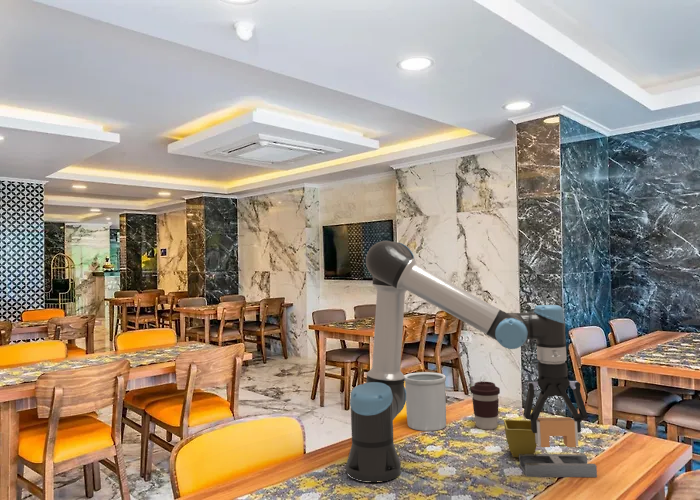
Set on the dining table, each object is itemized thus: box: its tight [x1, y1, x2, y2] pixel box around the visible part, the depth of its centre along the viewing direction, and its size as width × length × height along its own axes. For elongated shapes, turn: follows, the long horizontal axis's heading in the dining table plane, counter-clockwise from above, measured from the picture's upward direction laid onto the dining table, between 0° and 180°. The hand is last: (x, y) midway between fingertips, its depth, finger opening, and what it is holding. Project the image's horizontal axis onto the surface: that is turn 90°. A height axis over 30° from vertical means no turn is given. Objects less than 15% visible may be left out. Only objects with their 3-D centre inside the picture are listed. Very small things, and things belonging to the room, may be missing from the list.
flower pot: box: [503, 419, 538, 458], centre depth 147 cm, size 9×9×9 cm
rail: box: [518, 453, 598, 478], centre depth 135 cm, size 18×8×3 cm, turn 85°
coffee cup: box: [470, 380, 501, 430], centre depth 173 cm, size 10×10×15 cm
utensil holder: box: [404, 371, 447, 432], centre depth 177 cm, size 15×15×18 cm
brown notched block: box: [537, 416, 577, 448], centre depth 135 cm, size 9×3×7 cm, turn 84°
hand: (556, 444), depth 135 cm, fingers closed on brown notched block, 9 cm apart
